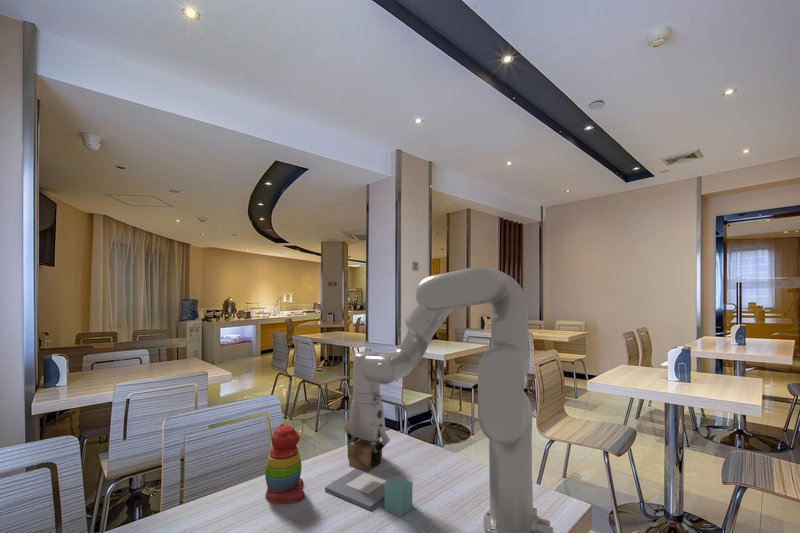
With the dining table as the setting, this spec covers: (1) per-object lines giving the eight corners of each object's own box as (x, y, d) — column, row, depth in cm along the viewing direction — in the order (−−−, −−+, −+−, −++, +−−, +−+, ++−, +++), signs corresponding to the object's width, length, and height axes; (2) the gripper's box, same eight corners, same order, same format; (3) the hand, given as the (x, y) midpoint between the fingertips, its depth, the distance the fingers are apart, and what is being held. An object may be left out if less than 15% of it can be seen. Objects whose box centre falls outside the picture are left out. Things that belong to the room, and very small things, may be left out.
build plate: (406, 482, 105) (406, 478, 105) (370, 510, 92) (370, 506, 92) (363, 467, 114) (363, 463, 114) (324, 490, 101) (324, 486, 101)
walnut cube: (382, 463, 104) (382, 441, 105) (367, 472, 99) (367, 449, 100) (364, 457, 108) (364, 436, 109) (349, 466, 103) (349, 443, 103)
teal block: (412, 506, 94) (412, 481, 94) (401, 516, 90) (401, 490, 90) (396, 500, 97) (396, 476, 97) (384, 509, 93) (384, 484, 93)
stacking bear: (305, 501, 96) (306, 430, 97) (263, 508, 93) (264, 435, 94) (302, 480, 107) (303, 417, 108) (265, 486, 104) (266, 421, 105)
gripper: (399, 398, 103) (398, 465, 102) (352, 388, 113) (351, 449, 112) (382, 405, 97) (382, 476, 96) (334, 394, 107) (333, 458, 106)
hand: (365, 461), depth 104 cm, fingers closed on walnut cube, 6 cm apart
